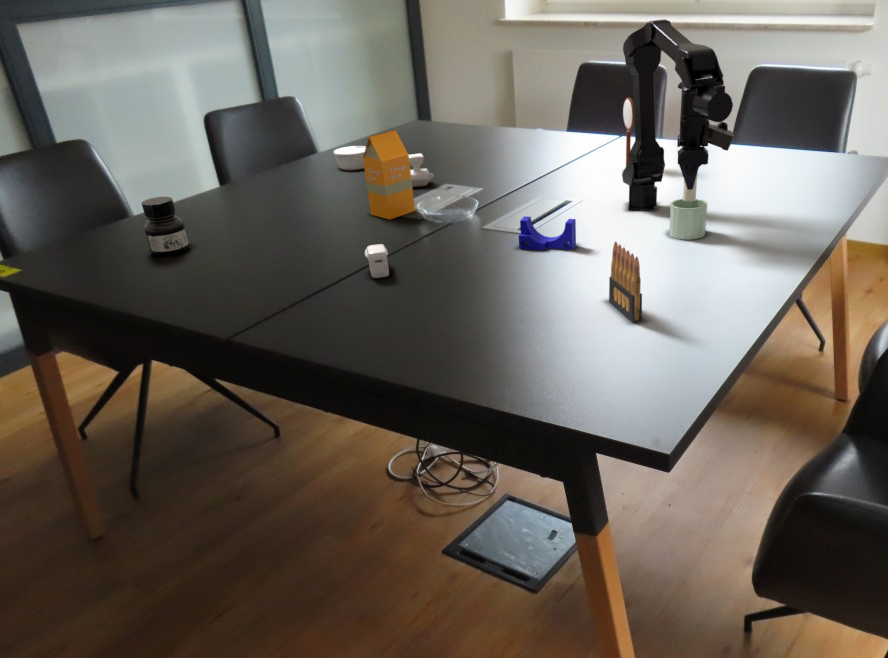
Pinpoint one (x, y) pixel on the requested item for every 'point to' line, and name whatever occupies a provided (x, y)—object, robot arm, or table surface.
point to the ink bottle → (164, 227)
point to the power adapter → (377, 260)
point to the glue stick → (689, 192)
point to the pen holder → (688, 219)
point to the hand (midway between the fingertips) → (689, 187)
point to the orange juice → (388, 176)
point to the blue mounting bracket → (539, 242)
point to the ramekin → (350, 157)
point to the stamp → (419, 171)
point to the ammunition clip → (625, 284)
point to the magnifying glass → (628, 123)
